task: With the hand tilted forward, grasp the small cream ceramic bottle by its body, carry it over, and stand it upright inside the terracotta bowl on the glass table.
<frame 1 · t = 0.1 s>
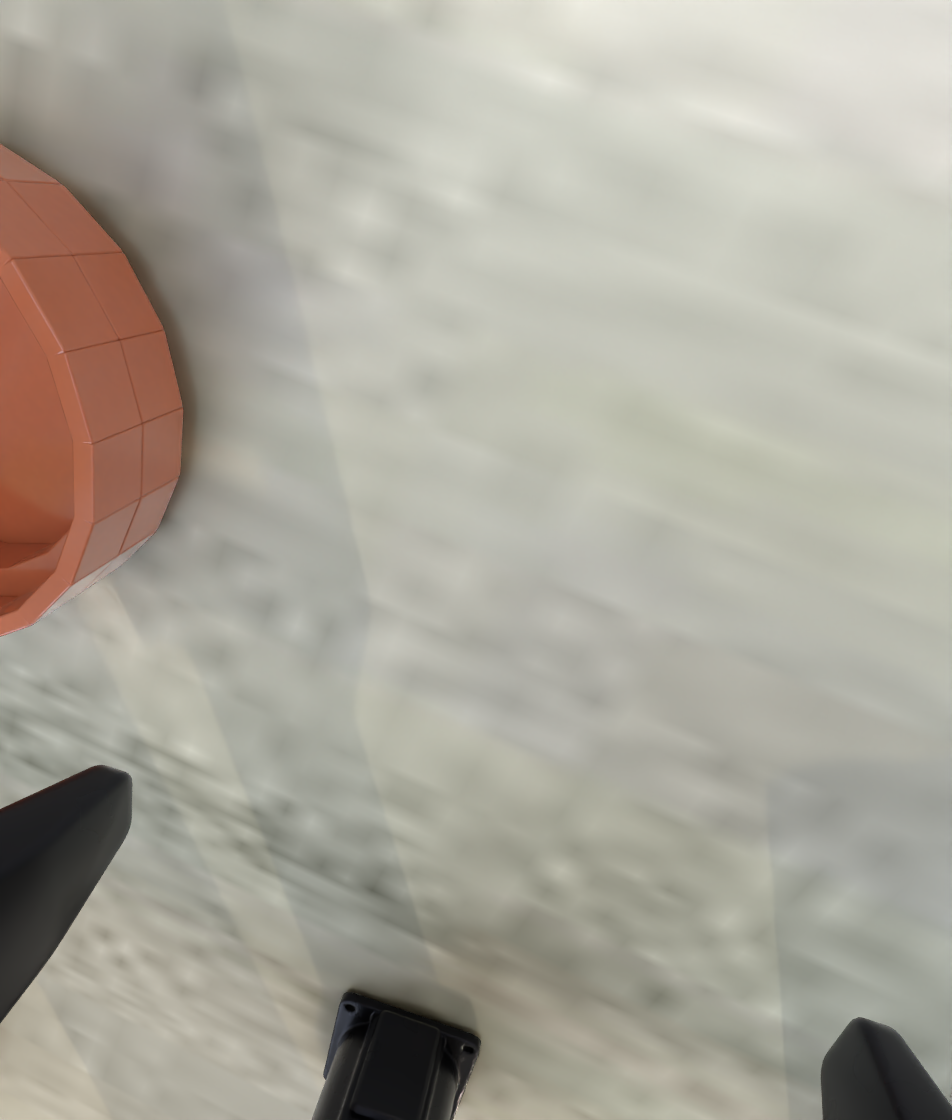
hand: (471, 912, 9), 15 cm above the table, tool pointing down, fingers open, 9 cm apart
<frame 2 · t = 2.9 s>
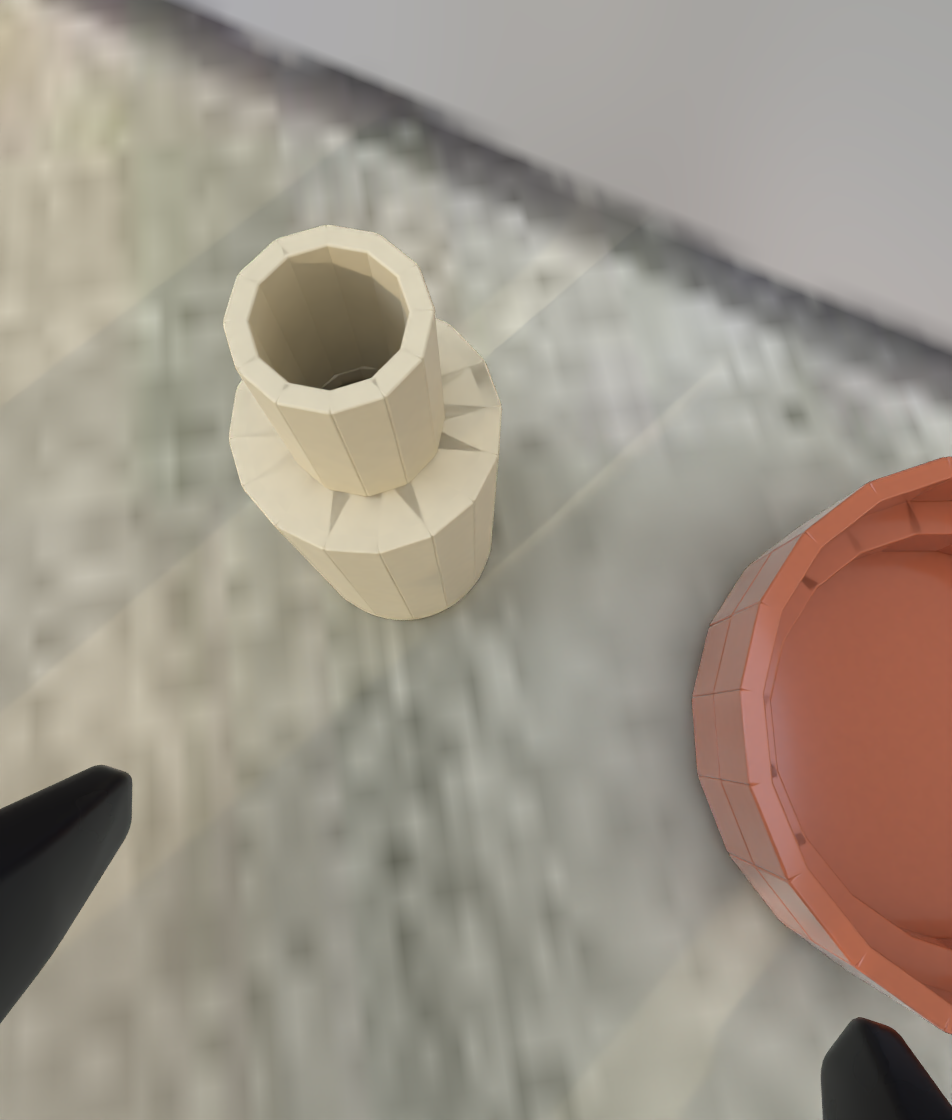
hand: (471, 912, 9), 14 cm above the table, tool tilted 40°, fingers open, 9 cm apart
bottle: (405, 535, 24), on the table
bowl: (918, 733, 23), on the table
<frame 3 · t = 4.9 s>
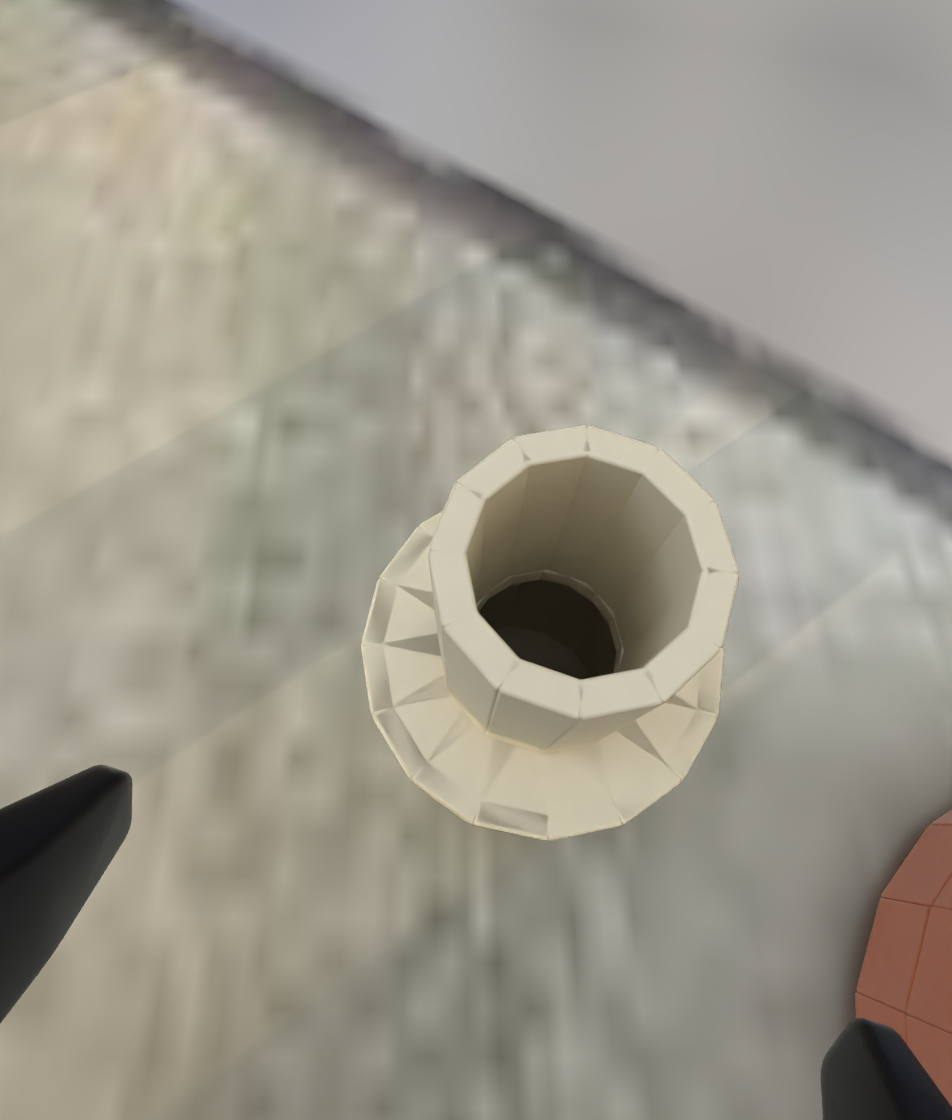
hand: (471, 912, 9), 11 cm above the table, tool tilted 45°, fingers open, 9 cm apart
bottle: (508, 719, 20), on the table
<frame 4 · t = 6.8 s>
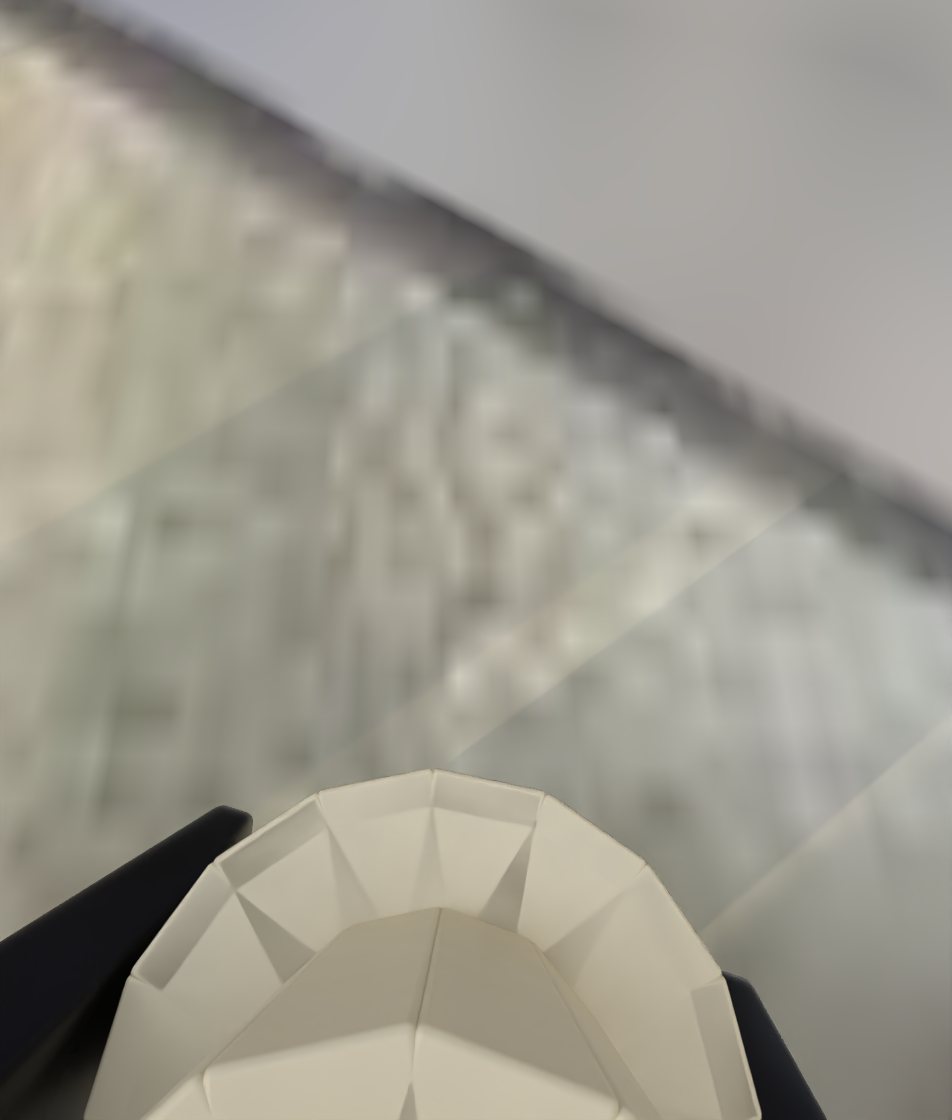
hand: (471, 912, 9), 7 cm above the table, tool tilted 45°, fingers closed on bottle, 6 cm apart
bottle: (445, 944, 15), on the table, touching gripper
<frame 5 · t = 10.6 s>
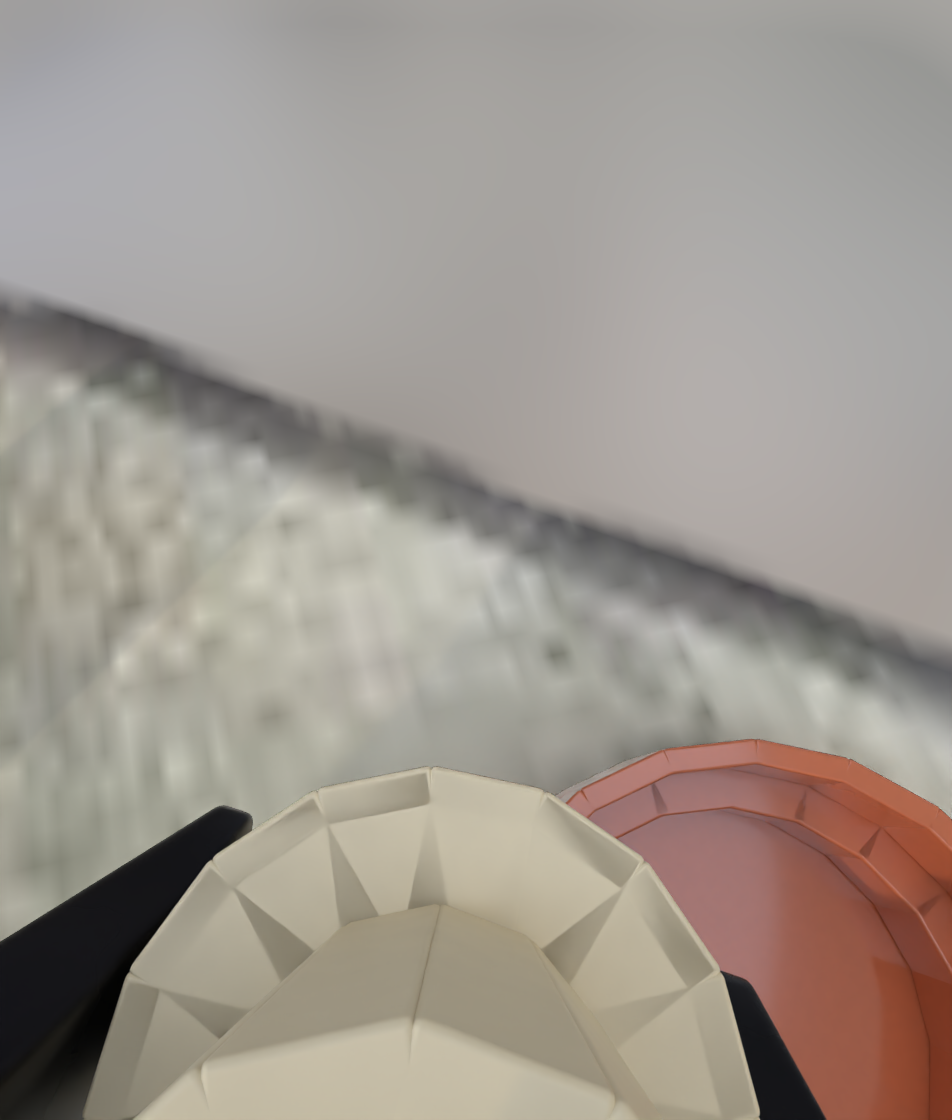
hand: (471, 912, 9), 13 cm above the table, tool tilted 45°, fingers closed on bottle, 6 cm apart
bottle: (445, 943, 15), point 7 cm above the table, touching gripper
bowl: (706, 1024, 20), on the table
when the fingers open (7 cm above the table, at t = 14.2 s): bottle stays where it is, resting on bowl.
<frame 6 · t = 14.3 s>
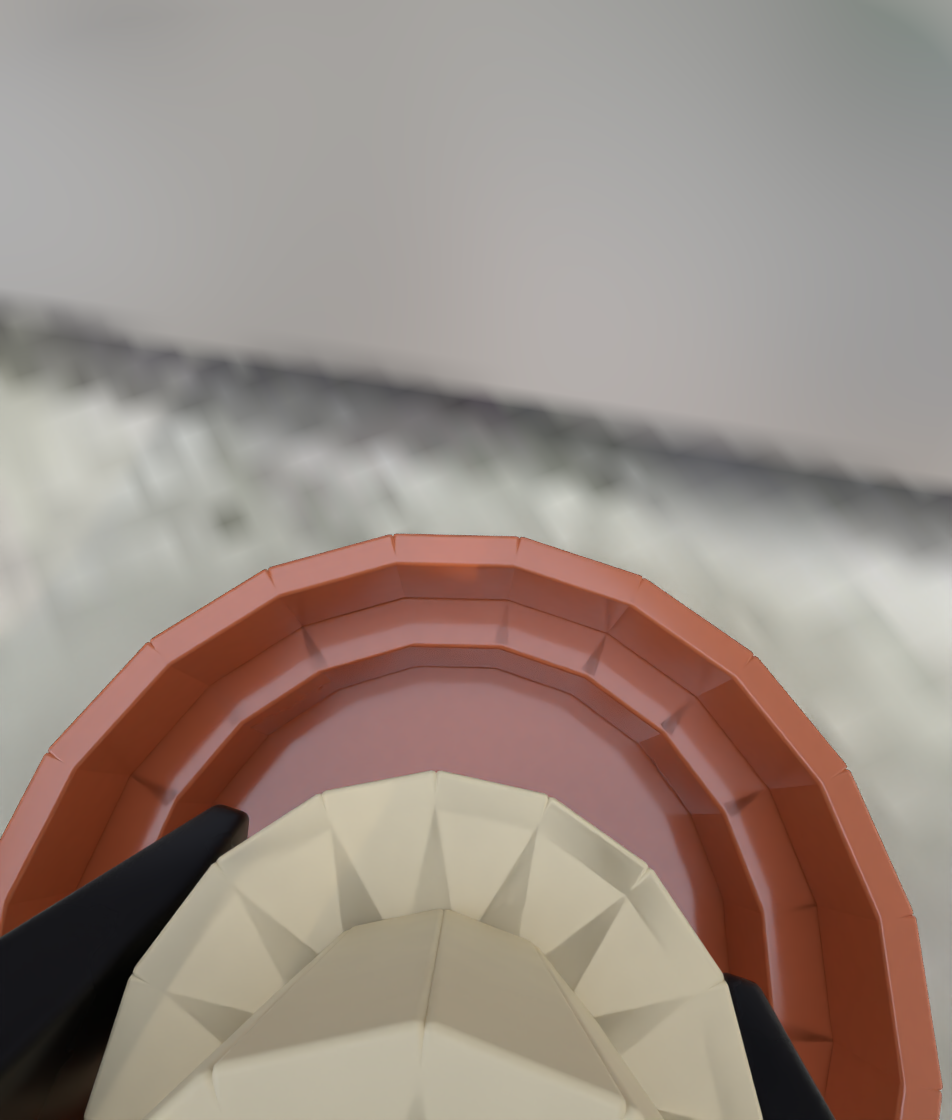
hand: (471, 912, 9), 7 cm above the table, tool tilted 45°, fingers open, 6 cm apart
bottle: (444, 948, 15), point 1 cm above the table, touching bowl
bowl: (448, 937, 15), on the table
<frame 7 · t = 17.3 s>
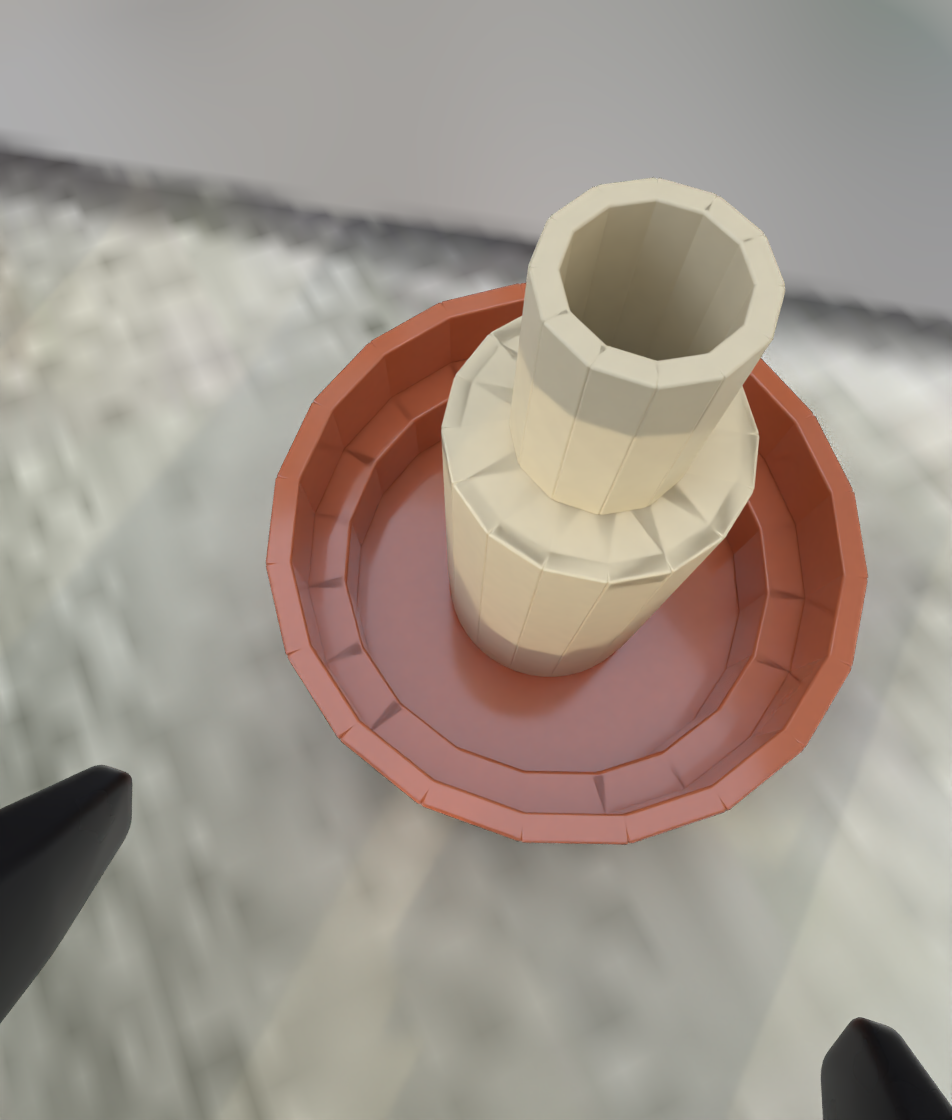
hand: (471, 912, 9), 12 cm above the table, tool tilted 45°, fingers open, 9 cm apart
bottle: (546, 582, 22), point 1 cm above the table, touching bowl
bowl: (545, 587, 22), on the table
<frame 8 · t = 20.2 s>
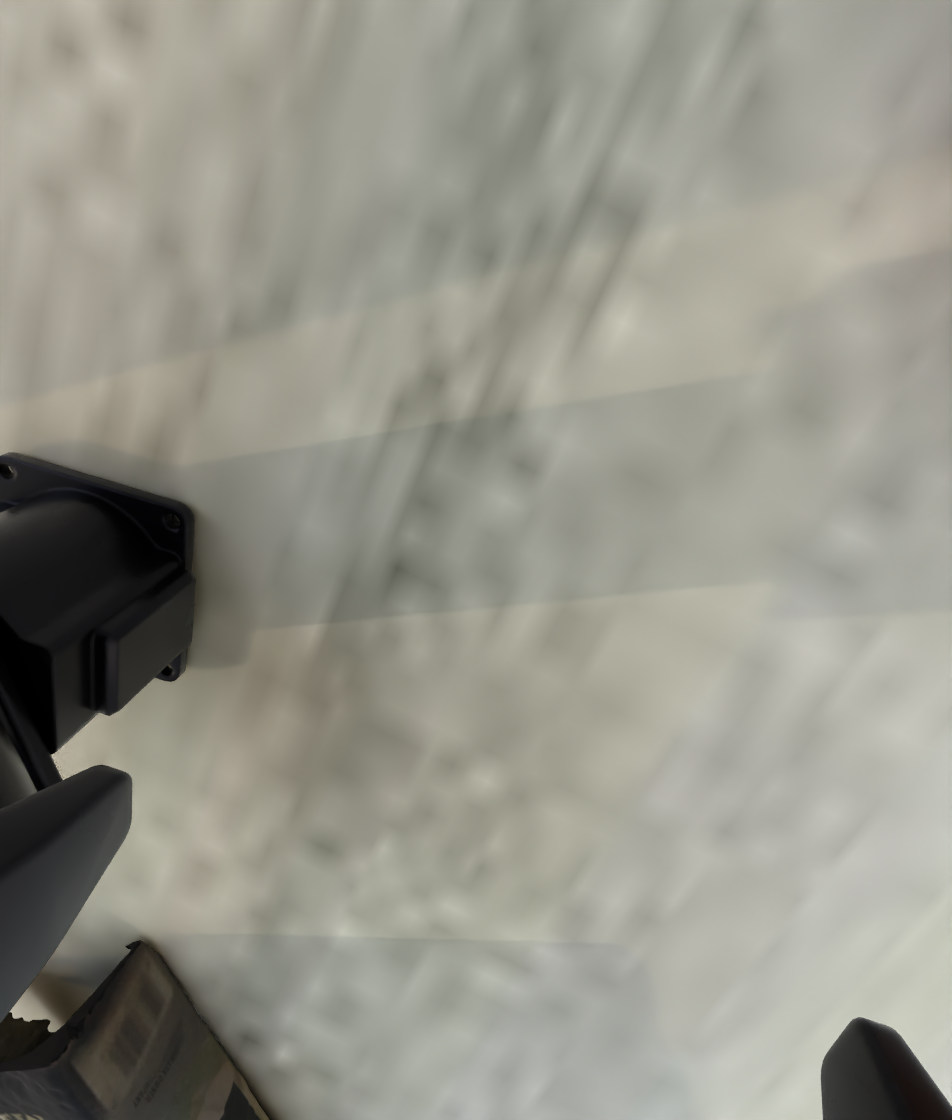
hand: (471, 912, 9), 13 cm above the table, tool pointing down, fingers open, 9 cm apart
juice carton: (177, 1079, 37), on the table
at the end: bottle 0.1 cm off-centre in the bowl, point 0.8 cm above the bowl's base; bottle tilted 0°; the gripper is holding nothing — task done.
